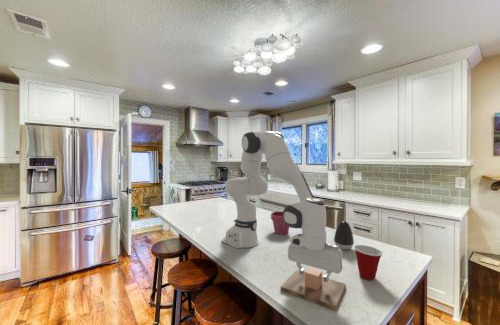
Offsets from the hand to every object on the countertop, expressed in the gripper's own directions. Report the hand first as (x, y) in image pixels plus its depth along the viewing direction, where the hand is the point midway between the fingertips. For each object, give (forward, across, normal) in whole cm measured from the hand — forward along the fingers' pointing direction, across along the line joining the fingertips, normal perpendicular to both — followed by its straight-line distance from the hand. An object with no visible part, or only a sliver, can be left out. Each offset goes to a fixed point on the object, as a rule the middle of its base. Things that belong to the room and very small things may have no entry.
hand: (313, 277), depth 86 cm
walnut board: (+5, 0, 0) cm, 5 cm away
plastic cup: (+5, -16, -22) cm, 28 cm away
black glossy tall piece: (+5, -1, -49) cm, 49 cm away
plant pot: (+5, +40, -54) cm, 67 cm away
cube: (+3, 0, 0) cm, 3 cm away
